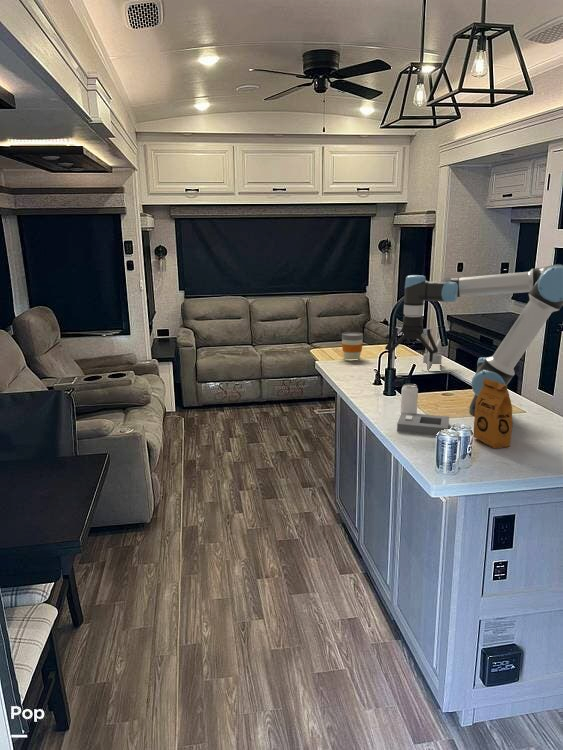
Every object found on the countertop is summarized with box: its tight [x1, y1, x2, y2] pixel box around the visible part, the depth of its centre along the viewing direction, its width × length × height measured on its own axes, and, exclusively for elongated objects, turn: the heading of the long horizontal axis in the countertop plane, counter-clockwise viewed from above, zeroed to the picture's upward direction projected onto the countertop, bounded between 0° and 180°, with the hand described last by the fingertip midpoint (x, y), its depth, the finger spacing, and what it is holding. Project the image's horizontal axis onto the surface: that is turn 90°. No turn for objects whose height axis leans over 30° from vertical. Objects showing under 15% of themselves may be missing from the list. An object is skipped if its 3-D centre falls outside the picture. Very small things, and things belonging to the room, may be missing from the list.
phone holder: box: [422, 335, 443, 369], centre depth 300 cm, size 17×10×18 cm, turn 164°
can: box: [400, 383, 419, 414], centre depth 225 cm, size 6×6×12 cm
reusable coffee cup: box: [341, 331, 364, 360], centre depth 324 cm, size 13×13×15 cm
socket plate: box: [396, 412, 450, 436], centre depth 210 cm, size 18×14×4 cm
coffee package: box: [472, 379, 513, 449], centre depth 192 cm, size 10×12×22 cm
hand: (410, 368), depth 222 cm, fingers open, 13 cm apart
